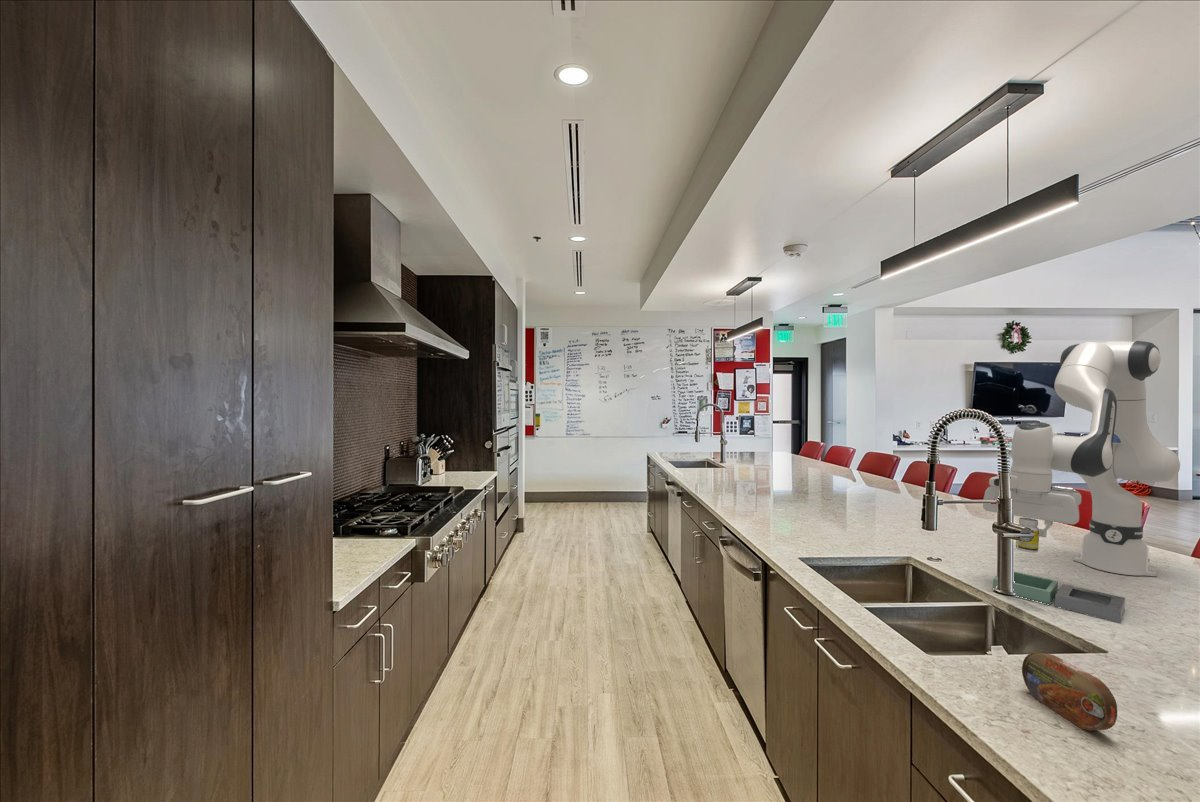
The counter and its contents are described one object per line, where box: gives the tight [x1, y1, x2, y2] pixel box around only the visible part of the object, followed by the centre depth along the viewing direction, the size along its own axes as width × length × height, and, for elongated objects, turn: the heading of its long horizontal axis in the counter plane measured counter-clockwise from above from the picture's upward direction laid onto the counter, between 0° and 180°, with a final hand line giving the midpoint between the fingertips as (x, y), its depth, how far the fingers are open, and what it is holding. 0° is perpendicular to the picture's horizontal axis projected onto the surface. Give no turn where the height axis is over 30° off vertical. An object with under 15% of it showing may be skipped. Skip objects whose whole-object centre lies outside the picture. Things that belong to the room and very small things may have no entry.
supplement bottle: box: [1015, 517, 1040, 554], centre depth 146 cm, size 5×5×8 cm
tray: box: [992, 571, 1059, 606], centre depth 146 cm, size 12×12×4 cm
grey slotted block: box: [1054, 583, 1126, 624], centre depth 137 cm, size 12×12×3 cm
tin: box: [1021, 652, 1118, 732], centre depth 92 cm, size 15×3×8 cm, turn 5°
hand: (1027, 534), depth 146 cm, fingers closed on supplement bottle, 5 cm apart
